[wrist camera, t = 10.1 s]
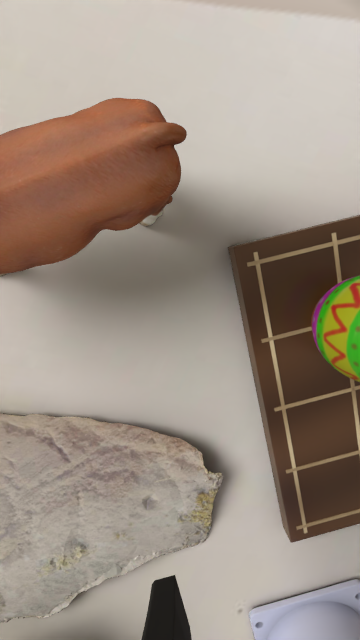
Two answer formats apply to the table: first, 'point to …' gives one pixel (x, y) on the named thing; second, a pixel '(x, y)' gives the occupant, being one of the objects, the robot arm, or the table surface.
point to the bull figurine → (83, 179)
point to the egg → (340, 327)
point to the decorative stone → (91, 506)
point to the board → (302, 373)
